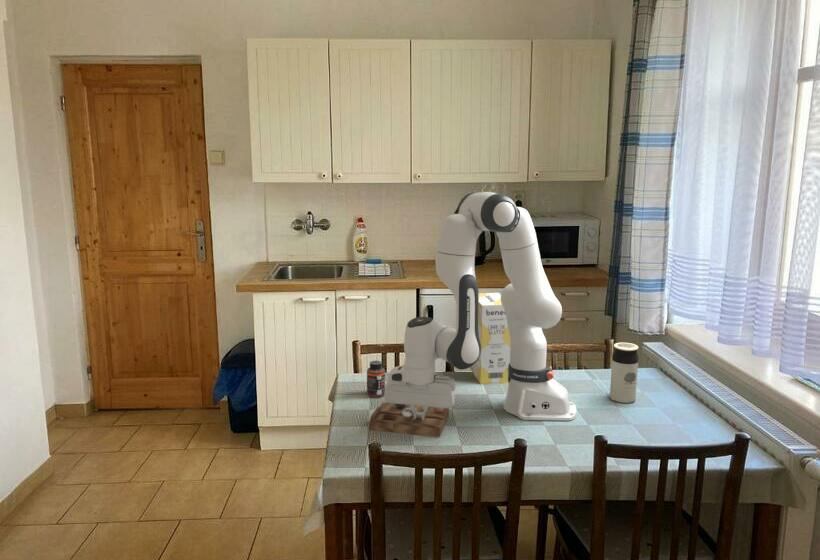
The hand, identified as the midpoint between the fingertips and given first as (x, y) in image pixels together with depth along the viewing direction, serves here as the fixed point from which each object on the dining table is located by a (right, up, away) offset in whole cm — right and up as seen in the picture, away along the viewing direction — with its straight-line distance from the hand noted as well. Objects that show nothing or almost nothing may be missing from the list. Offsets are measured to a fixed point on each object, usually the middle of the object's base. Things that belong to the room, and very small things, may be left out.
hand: (419, 418), depth 189 cm
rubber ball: (-6, +1, +10) cm, 11 cm away
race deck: (-3, -2, +5) cm, 6 cm away
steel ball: (-2, +2, 0) cm, 2 cm away
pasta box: (+26, +6, +46) cm, 53 cm away
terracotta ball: (+6, +1, +7) cm, 9 cm away
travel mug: (+66, +1, +23) cm, 70 cm away
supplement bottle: (-14, +2, +27) cm, 30 cm away
